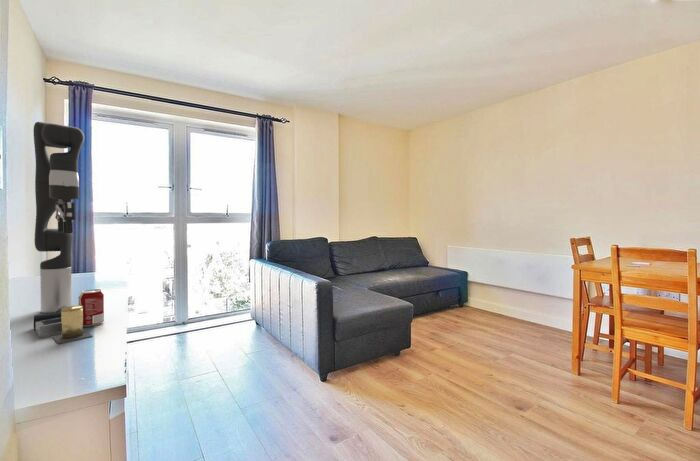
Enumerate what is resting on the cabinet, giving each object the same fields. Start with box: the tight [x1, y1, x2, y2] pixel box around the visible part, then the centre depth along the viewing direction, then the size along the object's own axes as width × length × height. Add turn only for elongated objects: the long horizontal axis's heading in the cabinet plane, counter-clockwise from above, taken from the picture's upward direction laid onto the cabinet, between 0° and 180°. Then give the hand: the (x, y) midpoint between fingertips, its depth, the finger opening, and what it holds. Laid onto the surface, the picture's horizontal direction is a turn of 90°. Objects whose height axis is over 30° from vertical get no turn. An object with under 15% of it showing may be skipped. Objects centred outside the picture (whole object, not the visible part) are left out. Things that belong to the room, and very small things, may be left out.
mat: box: [52, 329, 93, 345], centre depth 98 cm, size 8×8×1 cm
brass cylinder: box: [61, 304, 84, 339], centre depth 98 cm, size 5×5×9 cm
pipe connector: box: [33, 307, 64, 332], centre depth 112 cm, size 12×5×15 cm
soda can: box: [78, 288, 105, 328], centre depth 110 cm, size 7×7×12 cm
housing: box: [35, 317, 62, 339], centre depth 102 cm, size 8×8×4 cm
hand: (65, 232), depth 107 cm, fingers open, 8 cm apart
